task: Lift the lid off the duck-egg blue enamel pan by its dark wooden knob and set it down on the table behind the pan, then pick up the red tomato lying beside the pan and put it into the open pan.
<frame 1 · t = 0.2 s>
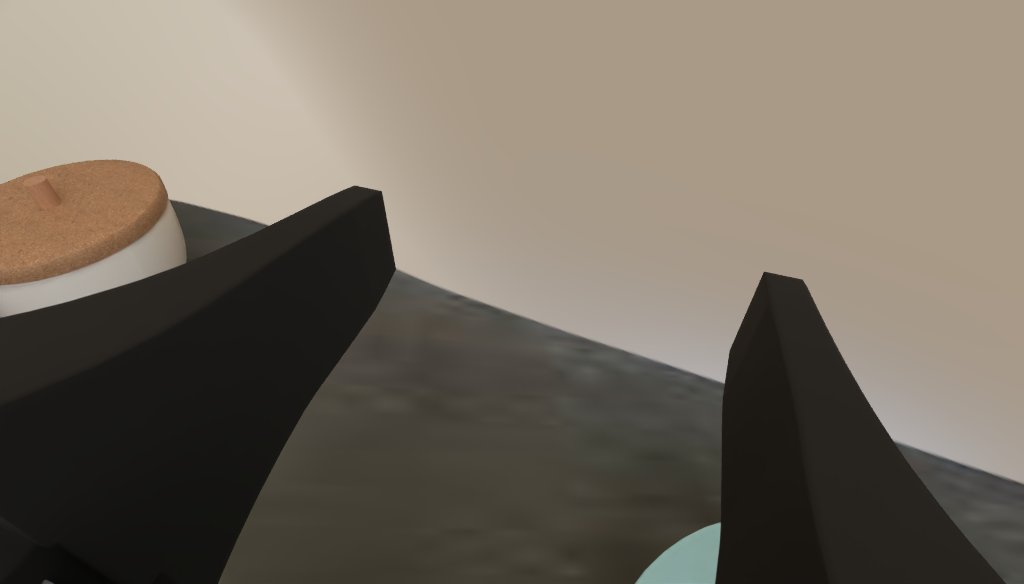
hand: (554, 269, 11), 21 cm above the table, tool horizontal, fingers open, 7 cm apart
lidded bowl: (123, 312, 42), on the table
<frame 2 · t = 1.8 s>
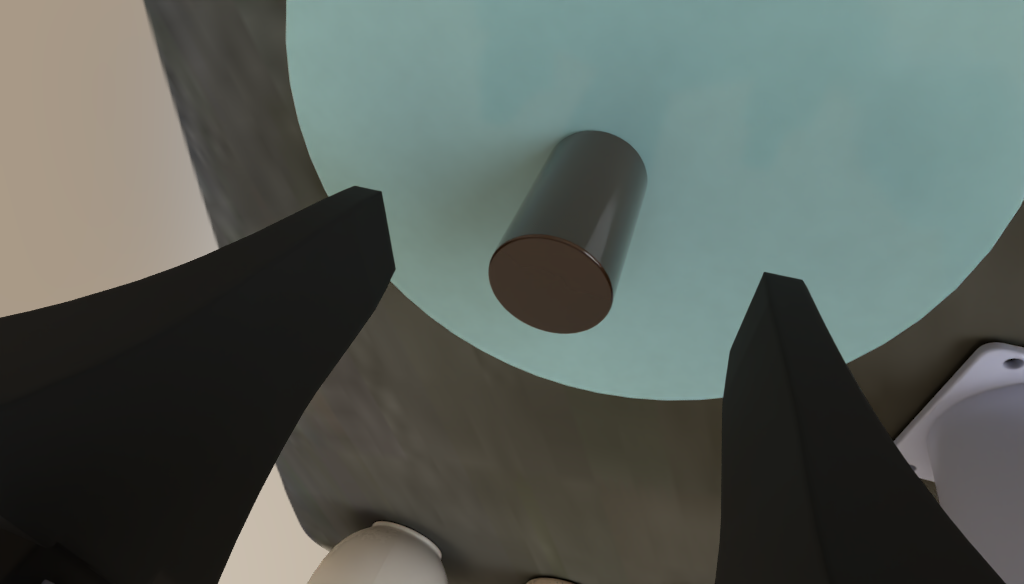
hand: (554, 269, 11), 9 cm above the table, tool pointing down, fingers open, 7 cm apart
pan lid: (600, 166, 13), point 5 cm above the table, touching pan
lidded bowl: (407, 539, 52), on the table
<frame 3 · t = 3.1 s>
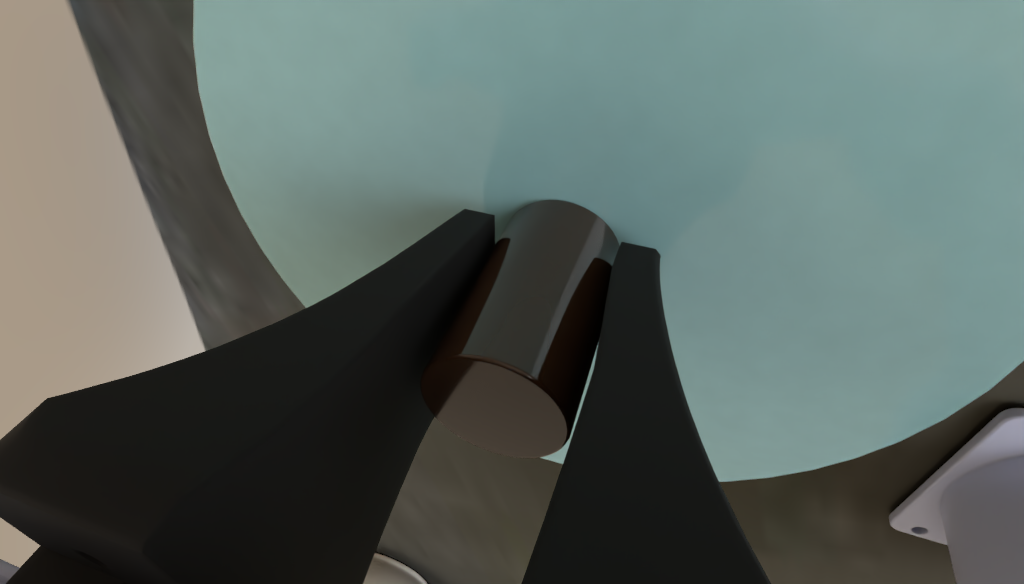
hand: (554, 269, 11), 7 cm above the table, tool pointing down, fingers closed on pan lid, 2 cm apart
pan lid: (567, 235, 11), point 5 cm above the table, touching gripper, pan
lidded bowl: (393, 569, 50), on the table
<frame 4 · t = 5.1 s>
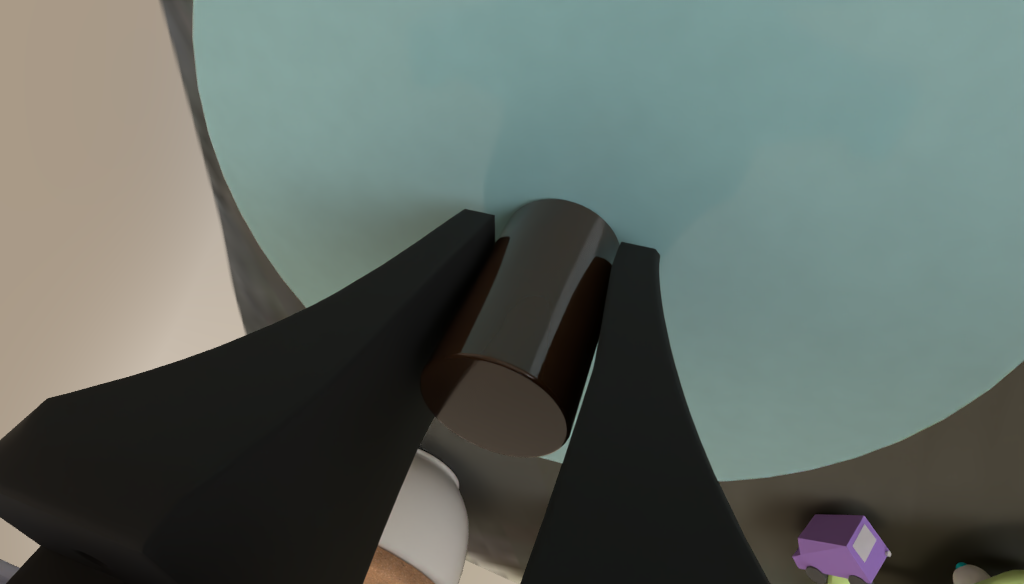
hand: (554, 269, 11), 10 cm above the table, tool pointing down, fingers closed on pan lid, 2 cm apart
pan lid: (567, 234, 11), point 9 cm above the table, touching gripper
lidded bowl: (418, 467, 43), on the table
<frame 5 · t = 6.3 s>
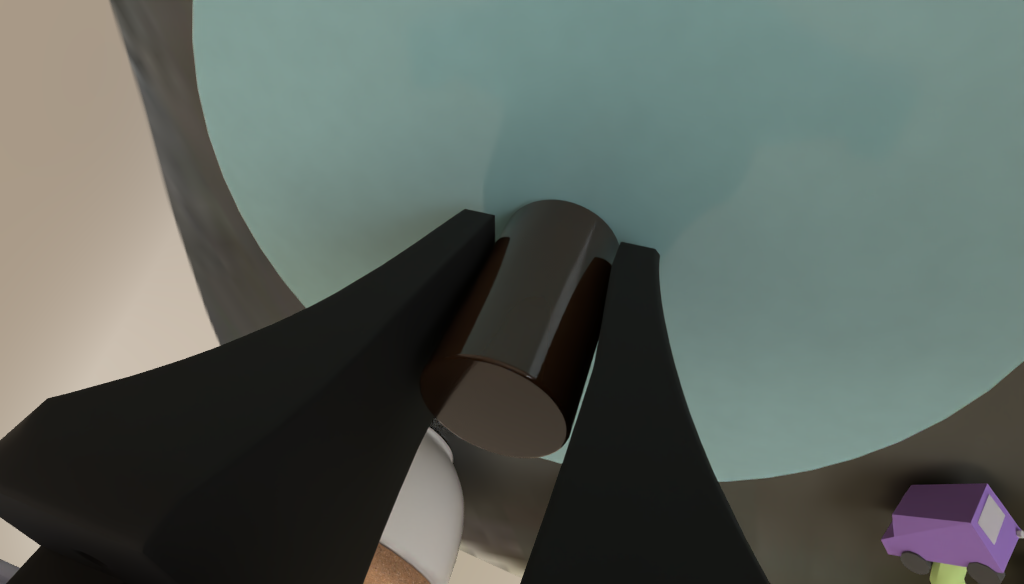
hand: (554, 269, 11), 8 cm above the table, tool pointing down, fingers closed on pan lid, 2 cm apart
pan lid: (567, 235, 11), point 7 cm above the table, touching gripper
lidded bowl: (404, 438, 37), on the table
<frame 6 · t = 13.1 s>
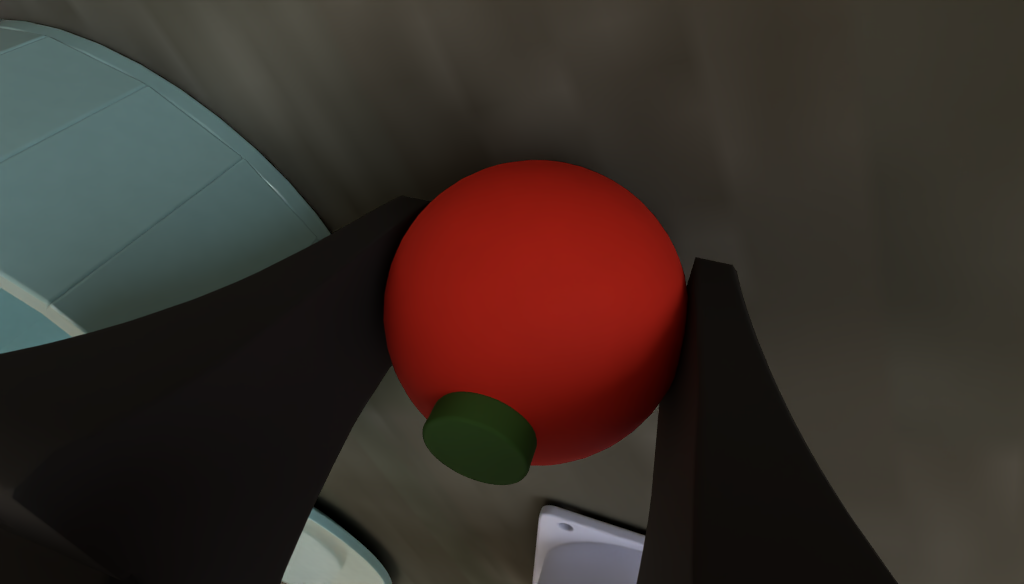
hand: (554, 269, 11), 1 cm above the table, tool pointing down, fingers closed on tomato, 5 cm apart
tomato: (534, 311, 10), point 3 cm above the table, touching gripper
pan lid: (267, 531, 33), point 1 cm above the table
pan: (167, 269, 18), on the table
when the fingers open (2 cm above the table, at t = 18.4 s): tomato moves 4 cm and tips over, resting on pan.
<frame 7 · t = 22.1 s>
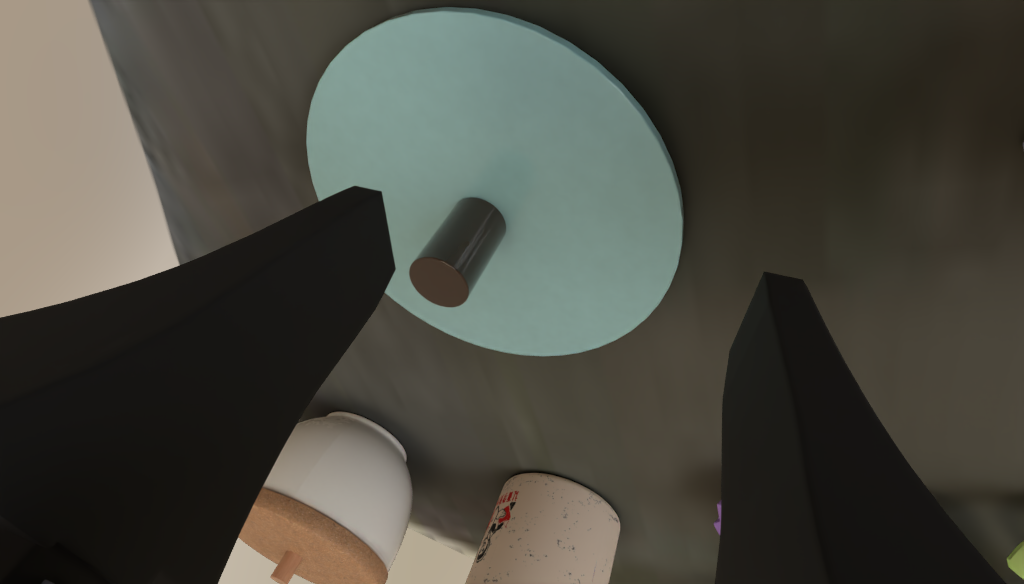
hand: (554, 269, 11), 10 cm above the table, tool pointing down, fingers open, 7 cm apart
figurine: (851, 582, 34), on the table
teacup with lid: (561, 511, 41), on the table
pan lid: (484, 214, 23), point 1 cm above the table
lidded bowl: (367, 438, 44), on the table
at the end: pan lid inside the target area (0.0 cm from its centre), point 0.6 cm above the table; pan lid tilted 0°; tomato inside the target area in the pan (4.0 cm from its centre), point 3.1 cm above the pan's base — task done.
